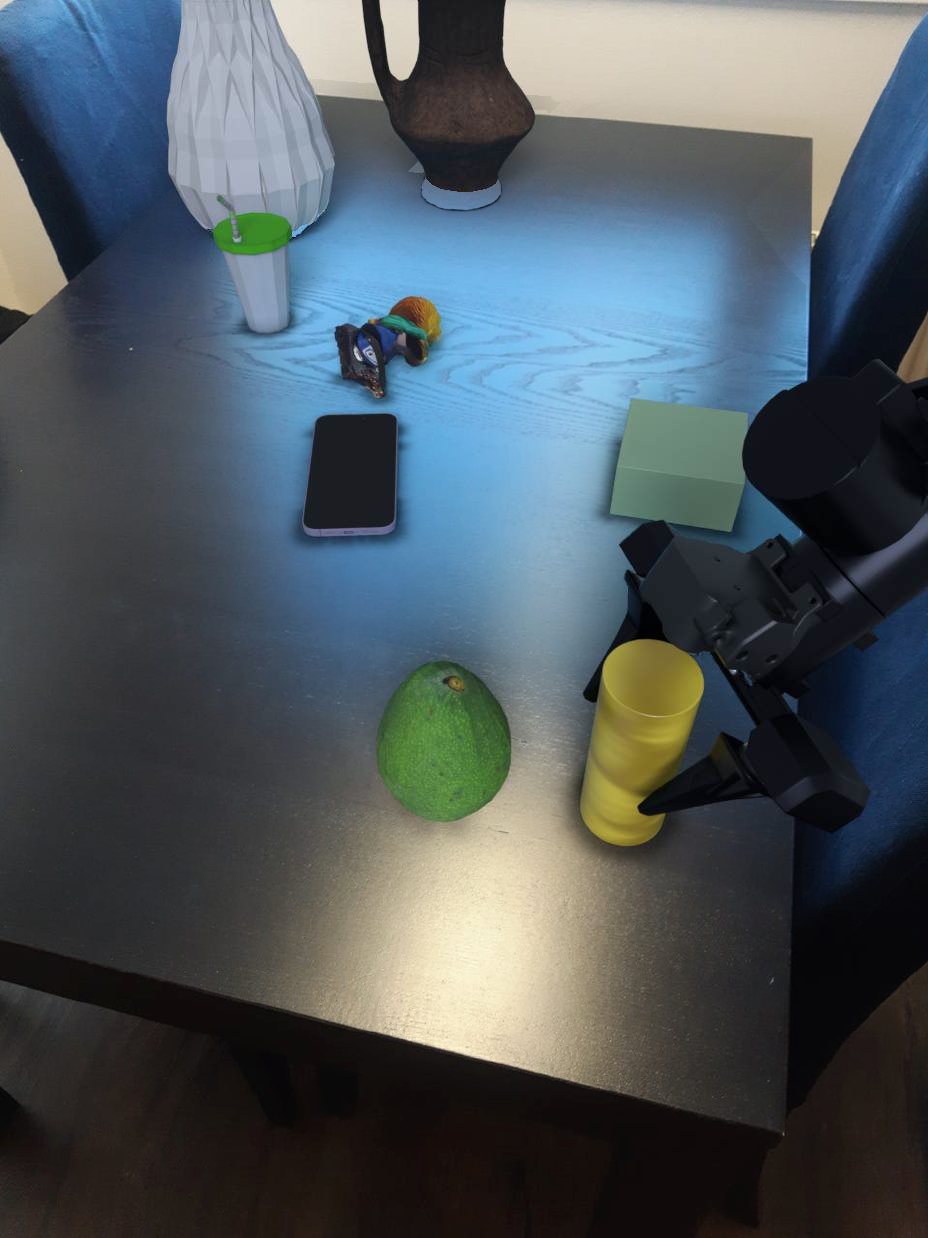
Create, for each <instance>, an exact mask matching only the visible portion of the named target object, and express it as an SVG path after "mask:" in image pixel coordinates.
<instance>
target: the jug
mask: <svg viewBox="0 0 928 1238" xmlns="http://www.w3.org/2000/svg"><path fill="white" fill-rule="evenodd" d="M506 3H507V0H417V26H418V28H417V29H418V51H417V57H416V61H415V64H414V66H413V68H412V70H411V72H410V74H409V76H408V77H407V78H405V79H402V80H400V79H398V78H397V77H396V76H395V75H394V74H393V73H392V71H391V69H390V64H389V60H388V59H389V58H388V53H387V44H386V36H385V27H384V22H383V19H382V13H381V12H382V10H381V0H361V7H362V17H363V25H364V33H365V39H366V46H367V52H368V56H369V60H370V64H371V69H372V74H373V77H374V79H375V83H376V85H377V89H378V90H379V94H380V97H381V98H382V101H383V102H384V105H385V107H386V109H387V111H388V116H389V122H390V124H391V127H392V129H393V131H394V132H395V134H396V135H397V136H398V137H399V139H400V140H401V141H402V143H404V144H405V146H406V147H407V149H409V150H410V152H411V153H412V154H413V156H415V158H416V159H417V161H418V162H419V164H420V165H421V166H422V169H423V171H424V174H425V176H424V178H425V177H426V179H427V180H428V181H429V182H430V183H431V184H432V185H434V186H436V187H438V188H440V189H444V190H450V191H457V192H473V191H478V190H483V189H487V188H489V187H491V186H493V185H494V184H496V182H497V180H498V178H499V172H500V170H501V168H502V167H503V165H504V163H505V162H506V161H507V159H508V157H509V156H510V155H511V153H512V152H513V151H514V150H515V149H516V147H517V146H518V144H520V142H521V141H522V140H524V138H525V137H526V136H528V135H529V133H530V132H531V130H533V127H534V124H535V121H536V112H535V110H534V108H533V105H532V103H531V101H530V100H529V98H528V97H527V95H526V94H525V92H524V91H523V89H522V88H521V87H520V85H519V84H518V83H517V82H516V80H515V78H514V77H513V75H512V74H511V72H510V70H509V68H508V67H507V65H506V62H505V59H504V29H505V27H504V26H505V10H506Z"/></svg>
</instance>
